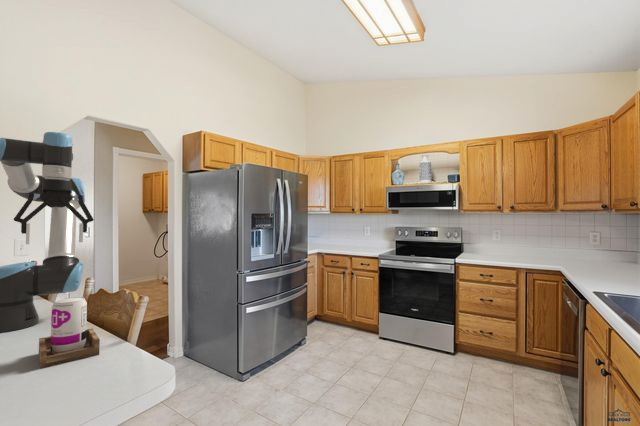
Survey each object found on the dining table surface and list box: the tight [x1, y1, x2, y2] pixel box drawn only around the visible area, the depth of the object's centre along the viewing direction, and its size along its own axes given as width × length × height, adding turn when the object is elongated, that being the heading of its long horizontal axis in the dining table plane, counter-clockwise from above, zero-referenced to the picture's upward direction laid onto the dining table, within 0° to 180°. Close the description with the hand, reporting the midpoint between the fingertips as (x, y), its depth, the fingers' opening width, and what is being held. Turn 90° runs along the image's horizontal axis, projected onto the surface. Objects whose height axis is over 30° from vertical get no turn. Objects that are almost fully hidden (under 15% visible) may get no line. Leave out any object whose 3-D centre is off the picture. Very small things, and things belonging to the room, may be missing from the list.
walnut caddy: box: [38, 328, 101, 369], centre depth 93 cm, size 13×13×4 cm
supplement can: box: [50, 296, 88, 355], centre depth 93 cm, size 8×8×15 cm
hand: (55, 243), depth 104 cm, fingers open, 13 cm apart
